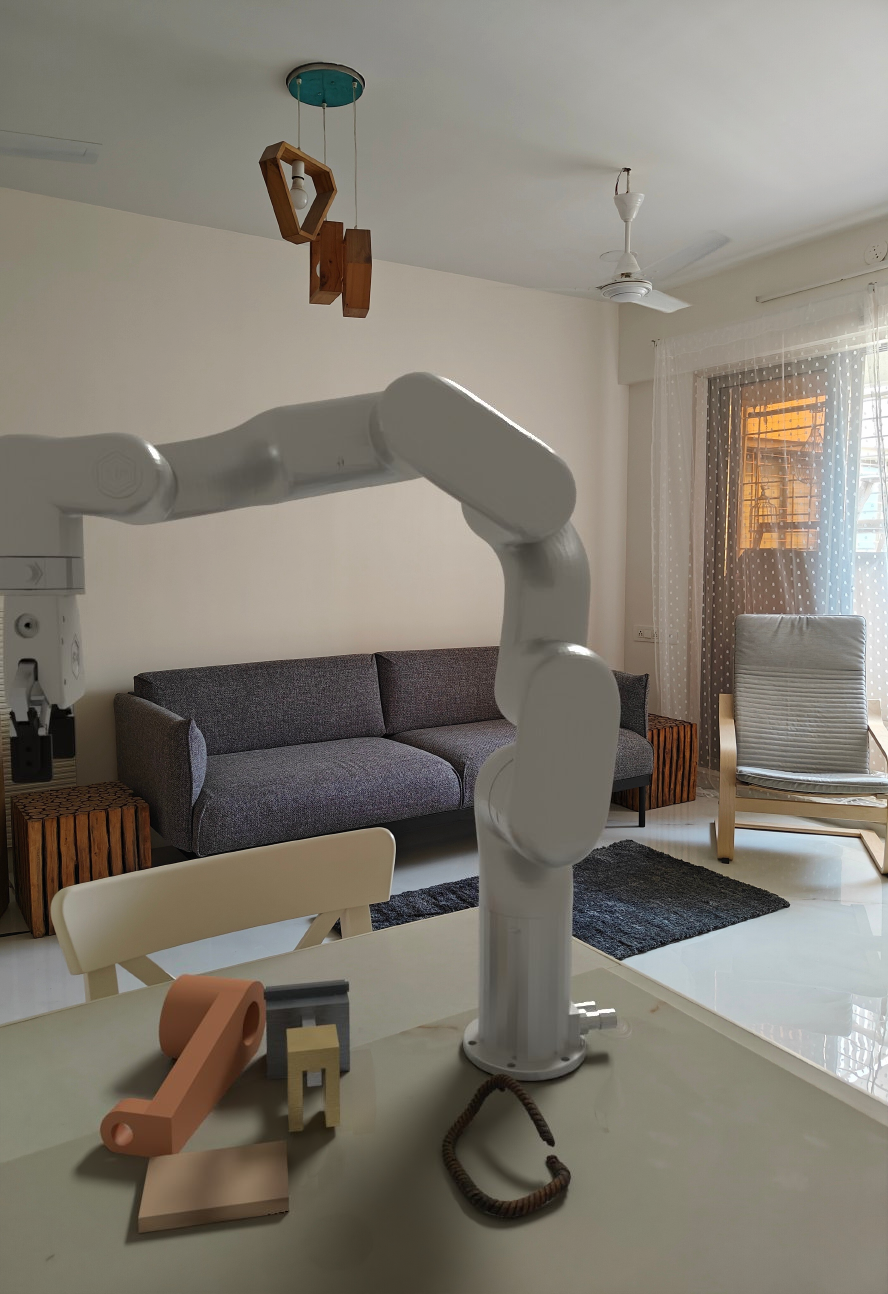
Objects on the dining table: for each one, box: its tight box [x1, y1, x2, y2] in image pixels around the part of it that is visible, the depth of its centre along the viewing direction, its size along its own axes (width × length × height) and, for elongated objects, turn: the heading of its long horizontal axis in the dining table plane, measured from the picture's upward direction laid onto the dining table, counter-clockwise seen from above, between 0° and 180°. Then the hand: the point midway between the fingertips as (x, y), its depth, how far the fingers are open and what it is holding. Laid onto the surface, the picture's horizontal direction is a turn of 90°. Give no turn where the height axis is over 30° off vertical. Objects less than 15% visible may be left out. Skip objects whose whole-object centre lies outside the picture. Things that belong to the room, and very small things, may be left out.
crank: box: [99, 973, 266, 1158], centre depth 85 cm, size 20×8×8 cm, turn 168°
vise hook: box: [264, 979, 351, 1087], centre depth 85 cm, size 8×16×8 cm, turn 12°
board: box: [137, 1140, 290, 1234], centre depth 71 cm, size 11×7×1 cm, turn 102°
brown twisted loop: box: [441, 1073, 572, 1218], centre depth 74 cm, size 13×5×10 cm
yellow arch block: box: [286, 1024, 341, 1133], centre depth 79 cm, size 4×4×7 cm
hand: (46, 769), depth 80 cm, fingers open, 9 cm apart
